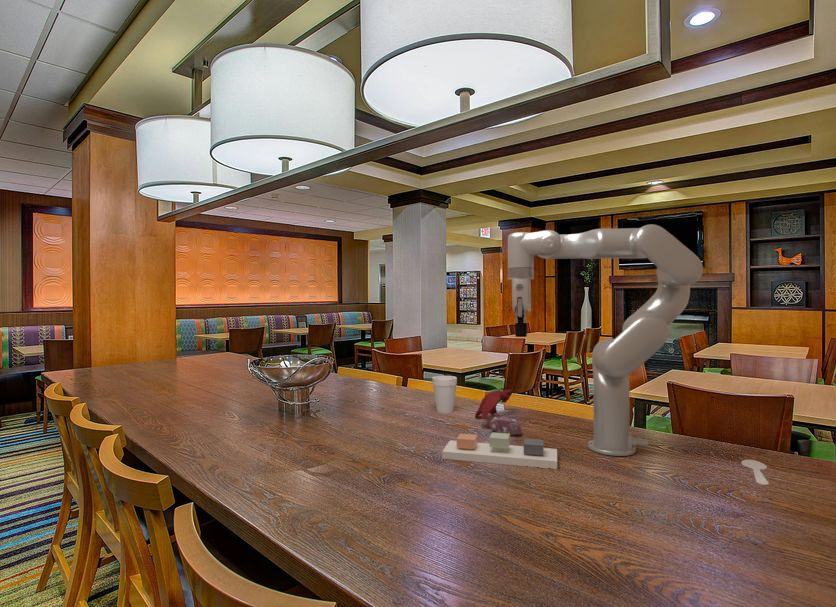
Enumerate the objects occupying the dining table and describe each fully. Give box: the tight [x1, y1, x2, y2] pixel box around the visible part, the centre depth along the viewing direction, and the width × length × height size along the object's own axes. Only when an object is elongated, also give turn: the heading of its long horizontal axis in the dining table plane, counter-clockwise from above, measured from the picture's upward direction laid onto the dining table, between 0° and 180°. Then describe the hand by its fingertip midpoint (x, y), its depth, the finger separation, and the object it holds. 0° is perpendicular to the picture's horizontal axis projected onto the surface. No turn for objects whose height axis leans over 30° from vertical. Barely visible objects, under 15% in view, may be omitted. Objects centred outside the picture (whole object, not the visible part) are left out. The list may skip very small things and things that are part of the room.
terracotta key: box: [456, 433, 479, 449], centre depth 129 cm, size 5×5×2 cm
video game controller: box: [488, 416, 523, 437], centre depth 148 cm, size 10×5×7 cm, turn 62°
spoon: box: [740, 458, 770, 486], centre depth 115 cm, size 5×18×1 cm, turn 151°
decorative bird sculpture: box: [474, 389, 514, 421], centre depth 166 cm, size 28×9×15 cm
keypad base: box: [441, 439, 558, 470], centre depth 126 cm, size 30×10×2 cm, turn 74°
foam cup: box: [432, 375, 458, 414], centre depth 178 cm, size 10×9×13 cm
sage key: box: [488, 431, 511, 448], centre depth 126 cm, size 5×5×2 cm
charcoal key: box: [523, 438, 545, 455], centre depth 124 cm, size 5×5×2 cm
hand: (521, 336), depth 137 cm, fingers closed
